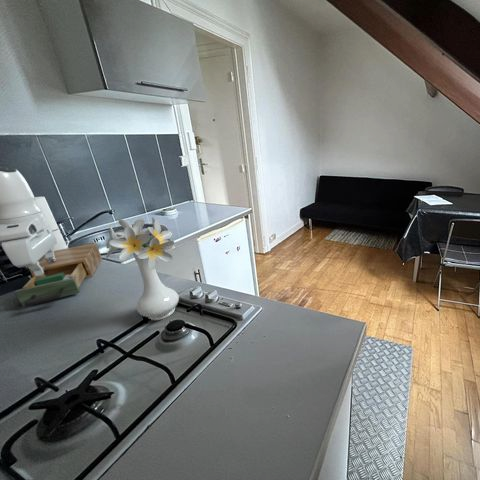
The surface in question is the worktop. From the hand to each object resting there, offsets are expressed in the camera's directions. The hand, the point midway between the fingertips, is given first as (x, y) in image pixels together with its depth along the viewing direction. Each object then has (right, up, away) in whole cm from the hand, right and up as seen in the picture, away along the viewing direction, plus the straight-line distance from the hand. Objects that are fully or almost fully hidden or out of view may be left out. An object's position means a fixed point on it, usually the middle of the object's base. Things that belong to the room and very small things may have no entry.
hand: (46, 268), depth 78 cm
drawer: (+2, -7, +2) cm, 7 cm away
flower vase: (+42, -11, -10) cm, 45 cm away
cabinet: (-6, -3, +15) cm, 16 cm away
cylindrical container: (-21, 0, +25) cm, 33 cm away
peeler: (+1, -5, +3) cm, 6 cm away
